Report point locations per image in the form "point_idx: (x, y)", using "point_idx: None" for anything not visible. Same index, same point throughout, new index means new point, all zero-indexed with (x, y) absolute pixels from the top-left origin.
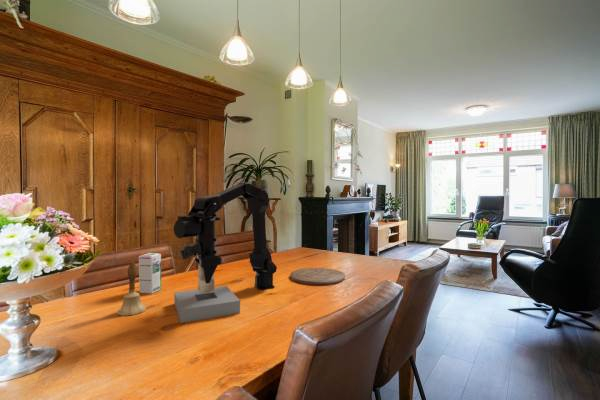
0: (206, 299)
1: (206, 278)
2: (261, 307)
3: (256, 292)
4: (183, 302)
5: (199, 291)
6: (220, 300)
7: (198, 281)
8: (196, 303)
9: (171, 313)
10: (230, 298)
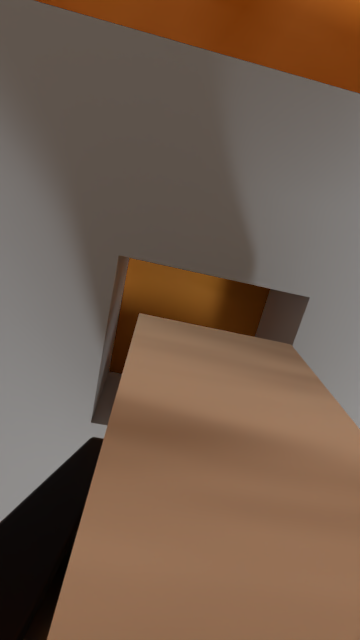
0: (103, 333)
1: (31, 504)
2: None
3: None
4: (149, 103)
5: (212, 328)
6: (7, 412)
7: (315, 395)
8: (38, 212)
9: (261, 55)
10: (16, 484)
